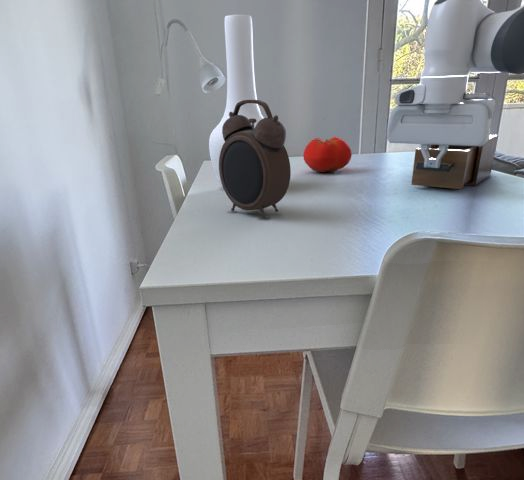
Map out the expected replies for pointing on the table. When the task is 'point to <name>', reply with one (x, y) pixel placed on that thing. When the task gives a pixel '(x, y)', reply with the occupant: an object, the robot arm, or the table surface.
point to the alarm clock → (254, 160)
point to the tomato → (327, 154)
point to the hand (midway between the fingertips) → (431, 167)
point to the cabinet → (484, 161)
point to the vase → (236, 80)
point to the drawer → (446, 167)
